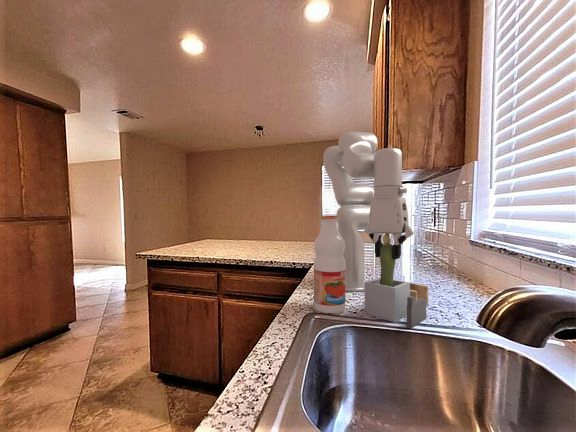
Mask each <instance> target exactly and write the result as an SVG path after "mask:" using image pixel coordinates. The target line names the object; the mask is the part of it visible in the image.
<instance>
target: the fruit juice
mask: <svg viewBox="0 0 576 432" xmlns="http://www.w3.org/2000/svg"><path fill="white" fill-rule="evenodd" d="M320 218H321V222H322V223H321V228H320V231H319V234H318V235H317V237H316V238H315V240H314V245H313V247H314V252H315V256H314V259H313V307H314V309H315V311H317V312H318V313H323V314H328V313H332V314H331V315H333V314H339V313H343V312H345V309H346V291H345V271H346V266H345V259H344V256H343V253H344V250H345V242H344V240H343V238H342V237H341V235H340V233H339V230H338V224H337V221H338V216H336V214H335V215H331V214H328V215H326V214H325V215H321V217H320Z"/></svg>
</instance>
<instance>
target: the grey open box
mask: <svg viewBox="0 0 576 432" xmlns="http://www.w3.org/2000/svg"><path fill="white" fill-rule="evenodd" d="M364 283H365V291H364V315H369V316H371V317H374V318H378V319H382V320H385V321H388V322H393V323H397V322H398V321H400V320H402V319H404V318H406V317H407V297H409V296H410V283H411V282H409V281H403V280H398V279H394V278H393V287H391V286H386V285H381V284H380V277H377V278H373V279H370V280H367V281H364Z"/></svg>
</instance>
